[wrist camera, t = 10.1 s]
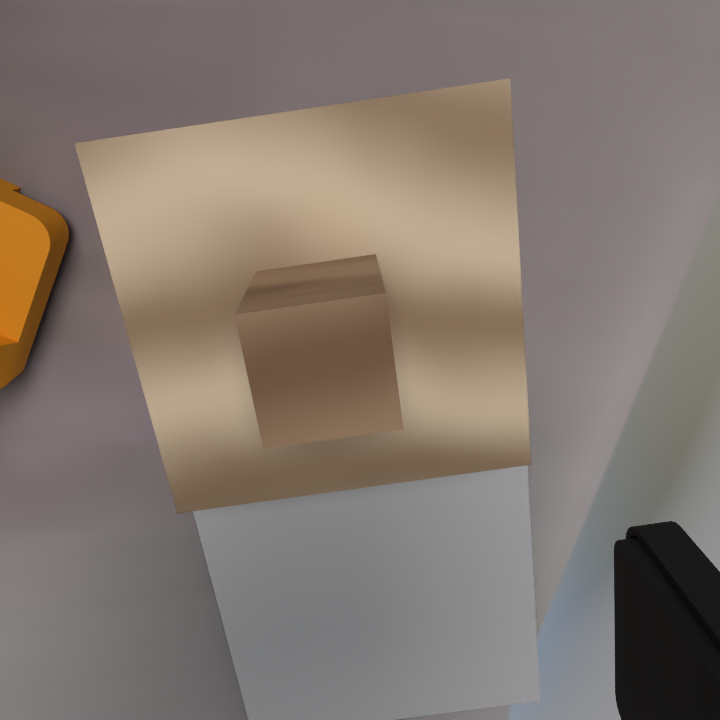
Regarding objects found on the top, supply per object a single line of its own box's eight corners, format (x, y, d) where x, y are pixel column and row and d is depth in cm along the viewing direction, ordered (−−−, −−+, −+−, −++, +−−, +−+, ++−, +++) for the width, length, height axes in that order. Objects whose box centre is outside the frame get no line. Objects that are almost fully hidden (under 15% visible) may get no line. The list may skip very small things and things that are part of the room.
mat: (537, 692, 37) (540, 701, 37) (254, 728, 37) (253, 737, 37) (523, 438, 32) (526, 444, 31) (190, 483, 32) (187, 490, 31)
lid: (525, 454, 26) (575, 546, 20) (181, 501, 26) (140, 605, 21) (503, 79, 21) (561, 68, 16) (83, 142, 21) (-4, 152, 16)
